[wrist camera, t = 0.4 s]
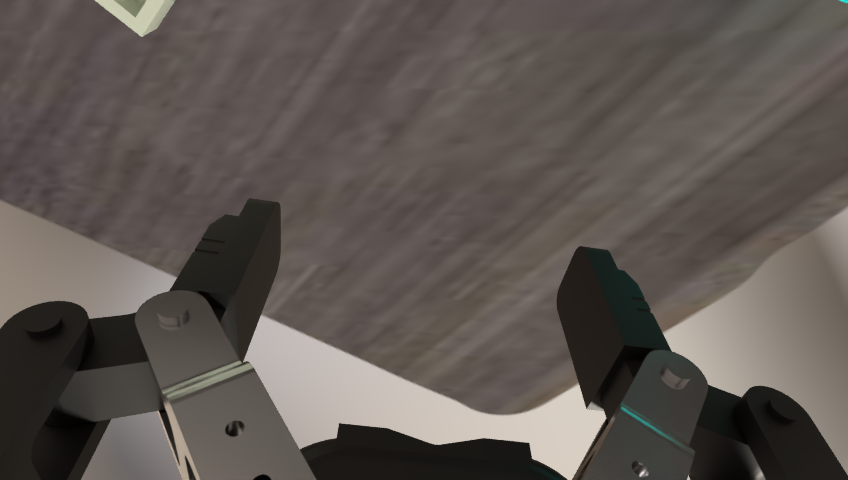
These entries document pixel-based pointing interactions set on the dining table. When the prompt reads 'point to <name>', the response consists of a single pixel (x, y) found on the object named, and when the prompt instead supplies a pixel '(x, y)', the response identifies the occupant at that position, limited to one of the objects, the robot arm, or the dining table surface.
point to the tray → (139, 13)
